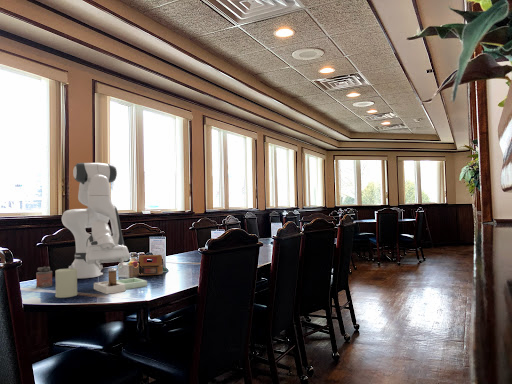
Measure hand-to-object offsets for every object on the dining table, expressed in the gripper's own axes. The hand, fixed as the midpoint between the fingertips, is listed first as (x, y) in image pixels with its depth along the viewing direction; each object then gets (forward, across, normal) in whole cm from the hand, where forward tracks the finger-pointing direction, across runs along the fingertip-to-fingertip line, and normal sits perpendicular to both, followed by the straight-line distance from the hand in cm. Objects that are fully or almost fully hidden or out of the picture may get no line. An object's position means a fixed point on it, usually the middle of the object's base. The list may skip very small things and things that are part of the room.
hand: (111, 268), depth 198 cm
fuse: (+8, 0, -6) cm, 10 cm away
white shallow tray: (+6, 0, -9) cm, 11 cm away
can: (+6, +19, -10) cm, 22 cm away
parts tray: (+3, -11, -12) cm, 16 cm away
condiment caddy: (-18, -33, -33) cm, 50 cm away
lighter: (-17, +24, -32) cm, 43 cm away
